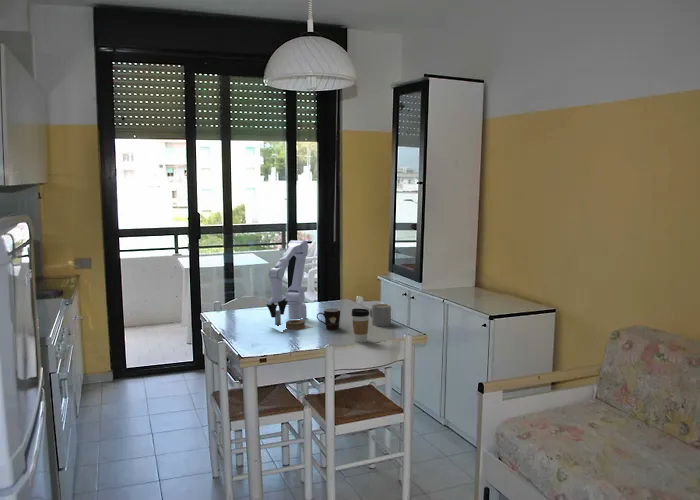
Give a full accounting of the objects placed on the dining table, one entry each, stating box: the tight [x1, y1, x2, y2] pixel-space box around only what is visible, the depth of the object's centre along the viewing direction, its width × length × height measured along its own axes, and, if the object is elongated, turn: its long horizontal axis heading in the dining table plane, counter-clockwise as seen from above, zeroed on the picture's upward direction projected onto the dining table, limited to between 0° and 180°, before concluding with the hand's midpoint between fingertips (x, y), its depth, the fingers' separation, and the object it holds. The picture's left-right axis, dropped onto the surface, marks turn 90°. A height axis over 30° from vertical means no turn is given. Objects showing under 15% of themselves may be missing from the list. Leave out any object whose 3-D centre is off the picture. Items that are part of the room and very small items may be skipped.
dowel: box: [274, 309, 282, 326], centre depth 305 cm, size 3×3×8 cm
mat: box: [280, 324, 314, 334], centre depth 301 cm, size 18×18×1 cm
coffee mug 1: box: [316, 307, 341, 331], centre depth 296 cm, size 12×9×10 cm
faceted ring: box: [285, 319, 306, 331], centre depth 300 cm, size 9×9×3 cm
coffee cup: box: [351, 308, 370, 343], centre depth 271 cm, size 8×8×15 cm
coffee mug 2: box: [369, 303, 392, 327], centre depth 305 cm, size 13×10×10 cm
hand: (277, 315), depth 305 cm, fingers open, 7 cm apart
